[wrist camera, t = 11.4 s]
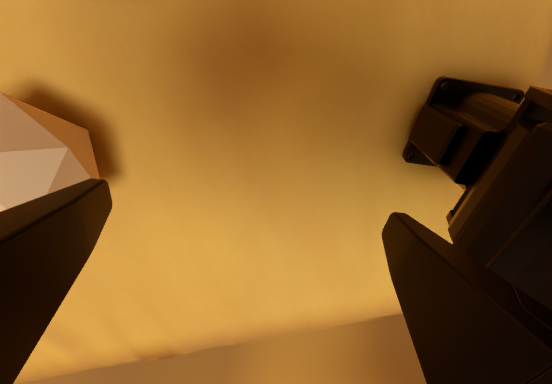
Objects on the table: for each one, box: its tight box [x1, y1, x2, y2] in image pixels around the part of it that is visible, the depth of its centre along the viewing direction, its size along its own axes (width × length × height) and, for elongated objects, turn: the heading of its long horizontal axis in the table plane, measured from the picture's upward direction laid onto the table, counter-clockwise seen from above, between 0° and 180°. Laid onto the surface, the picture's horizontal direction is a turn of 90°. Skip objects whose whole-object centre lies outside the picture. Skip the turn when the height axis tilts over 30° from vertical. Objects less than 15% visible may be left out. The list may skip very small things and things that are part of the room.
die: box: [0, 93, 100, 212], centre depth 18 cm, size 8×9×10 cm
